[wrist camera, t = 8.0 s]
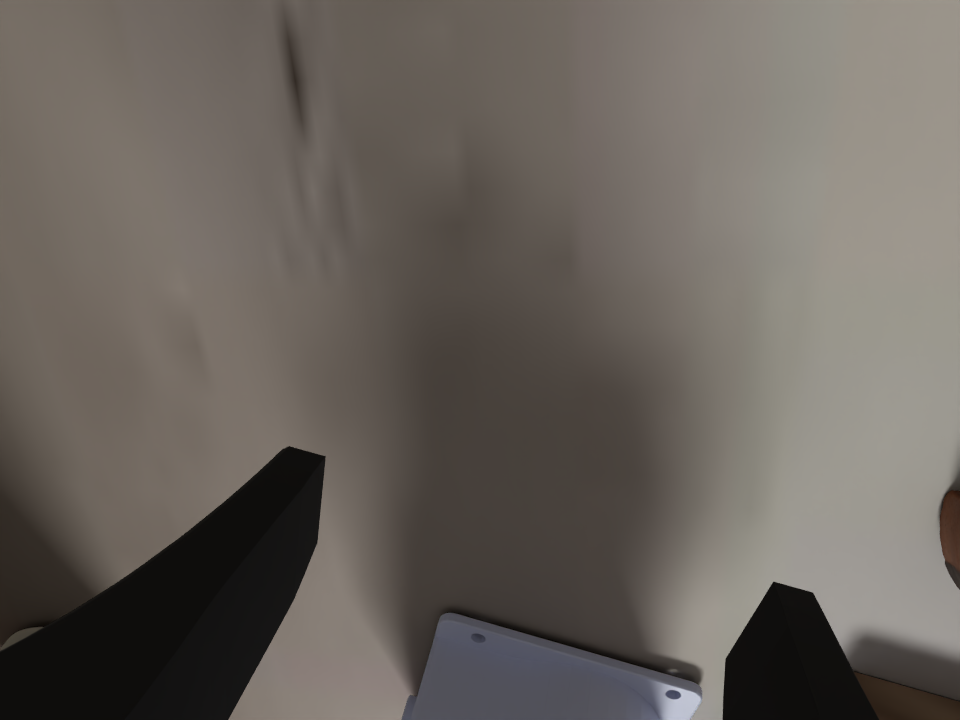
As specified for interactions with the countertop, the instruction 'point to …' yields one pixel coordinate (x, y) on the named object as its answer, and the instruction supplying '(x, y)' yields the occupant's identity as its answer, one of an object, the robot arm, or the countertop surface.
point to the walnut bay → (906, 701)
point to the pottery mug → (951, 534)
